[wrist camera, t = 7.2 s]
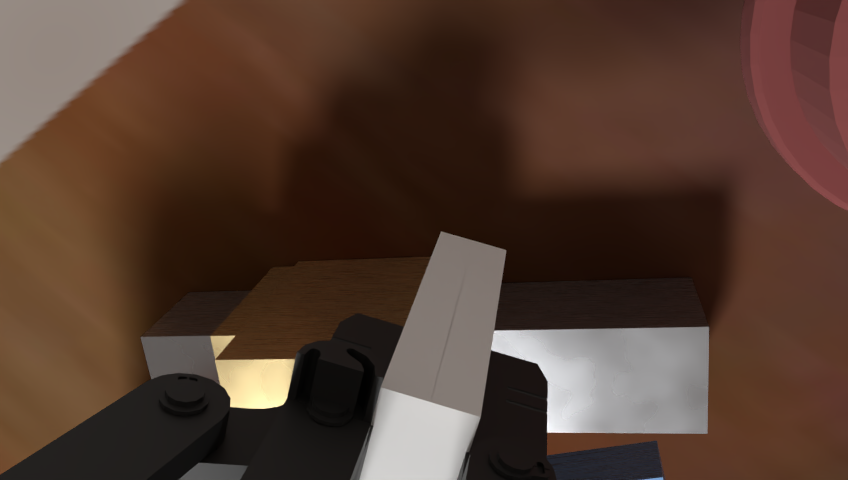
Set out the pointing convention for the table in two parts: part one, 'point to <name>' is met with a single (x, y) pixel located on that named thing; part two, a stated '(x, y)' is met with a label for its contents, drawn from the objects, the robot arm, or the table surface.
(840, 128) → the mechanical component
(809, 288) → the table surface
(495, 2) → the table surface
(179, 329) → the pipe
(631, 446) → the lever
